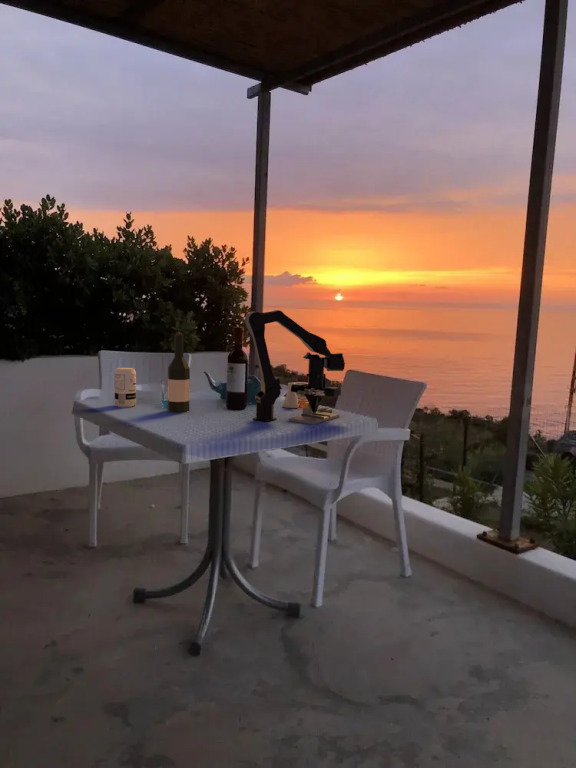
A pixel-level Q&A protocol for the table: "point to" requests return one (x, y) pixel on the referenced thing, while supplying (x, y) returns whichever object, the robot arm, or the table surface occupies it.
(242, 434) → the table surface
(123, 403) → the supplement can
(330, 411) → the cables
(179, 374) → the wine bottle
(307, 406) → the toggle
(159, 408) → the table surface
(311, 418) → the panel
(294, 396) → the flask
